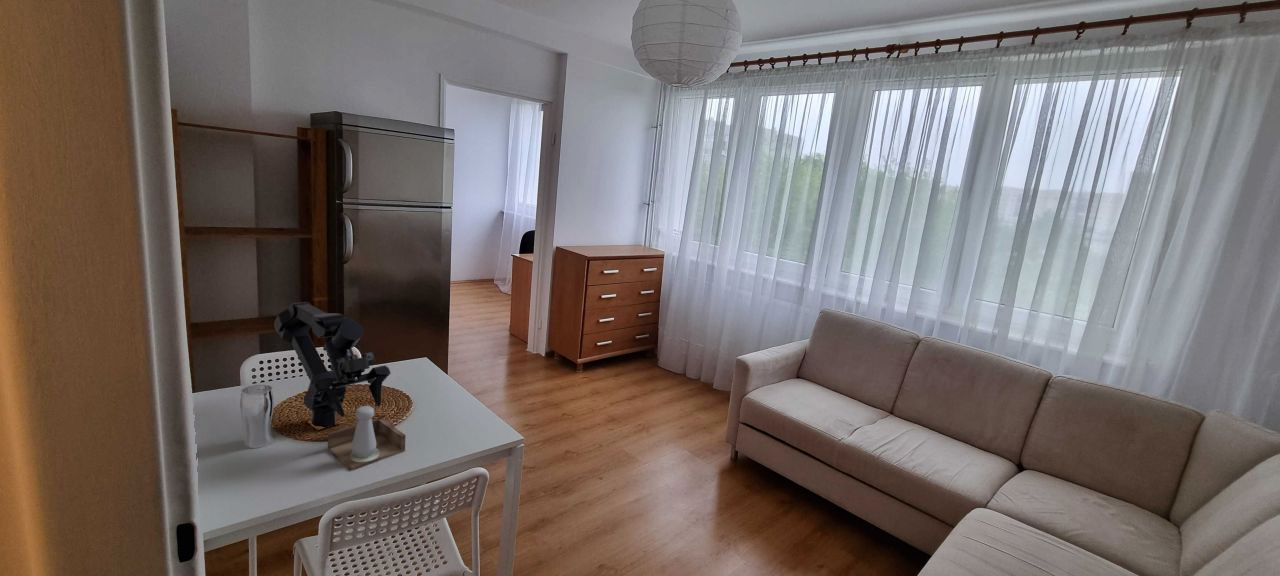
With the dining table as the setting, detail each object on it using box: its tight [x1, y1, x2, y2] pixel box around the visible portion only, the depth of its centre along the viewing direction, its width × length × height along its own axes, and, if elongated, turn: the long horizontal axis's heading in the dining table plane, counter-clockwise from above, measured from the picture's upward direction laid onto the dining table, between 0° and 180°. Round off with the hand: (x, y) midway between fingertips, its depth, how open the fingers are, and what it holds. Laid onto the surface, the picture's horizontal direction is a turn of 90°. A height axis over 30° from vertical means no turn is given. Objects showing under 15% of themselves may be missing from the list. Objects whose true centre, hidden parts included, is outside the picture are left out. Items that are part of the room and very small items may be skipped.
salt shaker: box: [351, 405, 376, 458], centre depth 135 cm, size 6×6×13 cm
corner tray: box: [327, 417, 406, 471], centre depth 140 cm, size 13×14×5 cm
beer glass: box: [239, 383, 275, 449], centre depth 136 cm, size 7×7×15 cm
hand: (361, 410), depth 135 cm, fingers open, 9 cm apart
